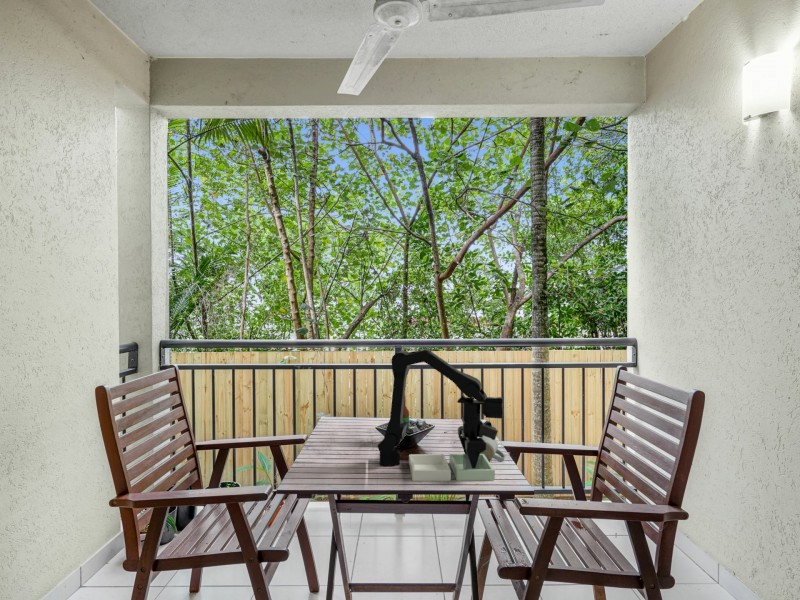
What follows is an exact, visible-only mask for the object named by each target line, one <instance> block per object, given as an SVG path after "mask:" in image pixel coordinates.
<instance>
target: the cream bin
mask: <svg viewBox="0 0 800 600" xmlns="http://www.w3.org/2000/svg"><path fill="white" fill-rule="evenodd" d="M408 465H409V469H410V475H411V479H412V482H451V481H452V476H451V475H452V473H451V472H452V471H451V470H452V469H451V467H450V464H449V463H448V461H447V458H446V457H445V454H443V453H440V454H439V453H438V454H437V453H436V454H435V453H434V454H432V453H431V454H429V453H425V454H424V453H421V454H412V453H411V454H409V455H408Z"/></svg>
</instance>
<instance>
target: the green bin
mask: <svg viewBox="0 0 800 600" xmlns="http://www.w3.org/2000/svg"><path fill="white" fill-rule="evenodd" d="M463 454H464V453H449V455H448V456H449V463H448V465H449V467H450V469H451V470H452V471H451V472H452V474H453V475H454V478H455V479H456V481H457V482H460V481H461V482H463V481H464V482H465V481H466V482H467V481H470V482H471V481H474V482H477V481H478V482H479V481H480V482H481V481H495V479H496V476H495V475H496V471H495V468H494V467H493V466H492V464H491V463H490V460H488V459H487V458H486V457H485V455H484V454H480V455H479V469H474V470H463Z"/></svg>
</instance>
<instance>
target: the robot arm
mask: <svg viewBox="0 0 800 600" xmlns="http://www.w3.org/2000/svg"><path fill="white" fill-rule="evenodd" d="M419 363H426V364H427V365H428V366H429V367H431V368H432V369H433V370H435V371H436V372H438V373H440V374H441V375H442V376H444V377H445V378H447V379H448V380H450V381H451V382H452V383H453V384H454V385H455V386H456V387H457V389H459V391H461V392H462V395H461V396H460V397H459V398H458V399H457V401H456V402H457V403H458V404H462V405H463V406H462V407H463V408H462V417H461V422H462V425H460V426H459V427H458V428H457V435H458V439H459V441H460V442H459V443H460V444H461V446H462V449H463V451H464V454H467V455H468V458H469V461H470V464H471V467H472V468H476V465H477V461H478V458H479V455H480V453H481V452H483V451H485V450H486V446H487V444H486V442H485V441H484V440H483V439H482V438H479V437H483V436H486V437H489V438H491V439H492V440H496V437H497V436H498V433H499V430H498V429H497V428H496V427H494V426H493V425H492V424H493V423H492V422H491V421H488V420H486V421H485V422H483V421H482V420H481V415H483V417H485V418H487V419H502V420H503V419H504V400H503V399H504V398H503V397H502V396H501V397H500V396H497V397H494V396H492V397H491V396H488V395H487V394H486V392H485V390H484V389H483V388H482V383H481V381H480V379H479V378H478V377H477V378H476V376H473V375H470V374H468V373H465V372H462V371H460V370H459V369H458V368H456V367H454V366H453V365H451V364H450V363H449V362H447V361H446V360H444V359H443V358H441V357H440V356H439V355H437V354H435V353H434V352H433V351H432V350H431V349H428V348H424V349H422V350H421V349H420V350H415V351H408V350H401V351H399V352H396V353H394V354H393V355H392V358H391V370H392V375H393V387H392V394H391V395H392V396H391V405H390V407H391V408H390V413H391V416H390V418H389V420H388V423H387V425H386V429H385V432H384V437H383V439H382V440H381V441H380V442H379V443H378V444H377V448H378V451H379V466H380V467H386V468H389V467H395V466H400V465H401V464H400V461H401V453H400V452H401V451H400V450H399V447H397V446H398V445H399V444H400V442H401V441H402V440H403V439H404V437H405V436H406V435H407V433H406V428H407V423H404V422H403V407H404V397H405V398H406V385H407V377H408V374H409V373H410V370H411V366H412V365H415V364H419ZM481 410H482V411H481ZM481 413H482V414H481Z"/></svg>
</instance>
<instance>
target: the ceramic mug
mask: <svg viewBox="0 0 800 600" xmlns="http://www.w3.org/2000/svg"><path fill="white" fill-rule="evenodd" d="M478 438H482V439H483V440H484V441H485V442H486V444H487V446H486V450H485V451H483V452H481V453H480V454H484V455H485V457H486V458H487V459H488V461H491V460H492V459H494V460H496V461H498V462H503V461H504V460H505V458H506V456H505V454H504V452H502V451H501V450H500V449H498V447H499V446H498V441H497V440H496V439H495V440H492V439H491V438H489V437H486V436H483V437H478Z"/></svg>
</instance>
